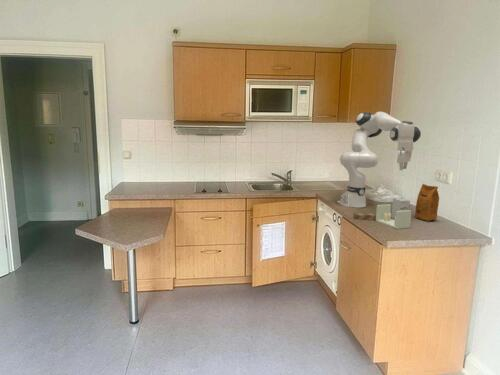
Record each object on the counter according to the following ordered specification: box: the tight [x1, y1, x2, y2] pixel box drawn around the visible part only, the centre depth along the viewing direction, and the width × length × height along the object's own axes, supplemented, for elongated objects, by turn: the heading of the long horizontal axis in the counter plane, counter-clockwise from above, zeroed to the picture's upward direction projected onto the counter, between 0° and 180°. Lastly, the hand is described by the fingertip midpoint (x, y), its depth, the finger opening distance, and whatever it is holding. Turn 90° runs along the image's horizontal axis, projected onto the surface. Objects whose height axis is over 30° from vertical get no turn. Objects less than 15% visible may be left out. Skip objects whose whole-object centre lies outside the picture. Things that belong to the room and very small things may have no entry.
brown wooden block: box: [353, 212, 376, 221], centre depth 224 cm, size 14×5×4 cm, turn 92°
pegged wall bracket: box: [374, 203, 412, 230], centre depth 213 cm, size 18×10×10 cm, turn 21°
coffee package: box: [414, 183, 440, 222], centre depth 227 cm, size 10×12×22 cm
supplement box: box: [391, 198, 411, 220], centre depth 226 cm, size 7×7×13 cm
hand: (402, 169), depth 226 cm, fingers open, 8 cm apart
